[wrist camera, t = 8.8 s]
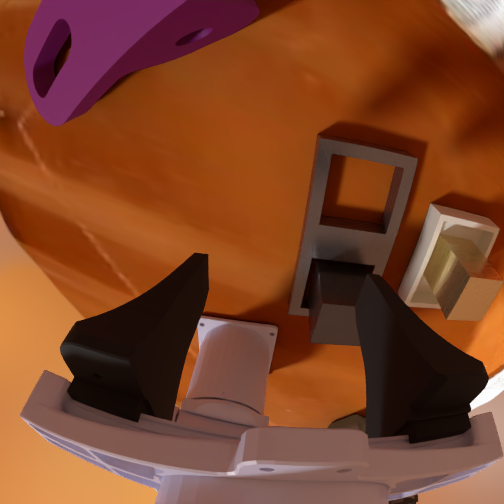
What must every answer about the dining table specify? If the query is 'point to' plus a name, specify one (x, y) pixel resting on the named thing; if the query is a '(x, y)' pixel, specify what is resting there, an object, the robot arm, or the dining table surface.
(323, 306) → the dark grey block
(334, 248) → the dark grey holder frame
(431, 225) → the parts tray
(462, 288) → the brown wooden block
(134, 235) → the dining table surface
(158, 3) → the mounting bracket
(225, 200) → the dining table surface
